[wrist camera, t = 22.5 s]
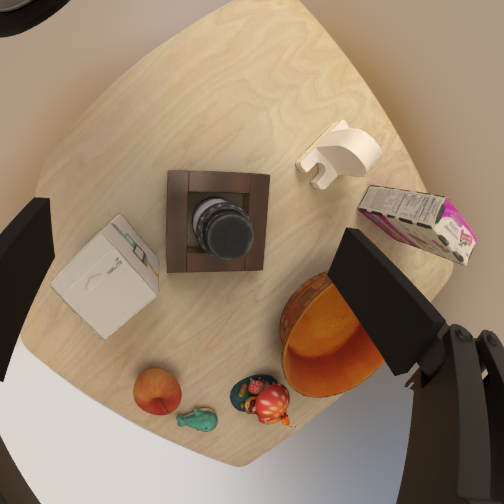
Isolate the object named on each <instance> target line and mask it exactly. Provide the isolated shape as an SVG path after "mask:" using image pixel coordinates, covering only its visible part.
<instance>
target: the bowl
mask: <svg viewBox="0 0 504 504" xmlns="http://www.w3.org/2000/svg"><path fill="white" fill-rule="evenodd" d="M328 272H329V271H327V272H323V273H321V274H319V275H317V276H315V277H313V278H311V279H310V280H308V281H307V282H305V283H304V284H303V285H302V286H301V287H300V288H299V289H298V290H297V291H296V292H295V293H294V294H293V295H292V296H291V298H290V299H289V301H288V303H287V304H286V306H285V308H284V311H283V313H282V316H281V321H280V336H281V340H282V343H283V351H282V368H283V373H284V376H285V379H286V380H287V382H288V383H289V385H290V386H291V387H292V388H293V389H294V390H295V391H296V392H298V393H300V394H302V395H304V396H308V397H329V396H333V395H337V394H340V393H343V392H345V391H348V390H350V389H352V388H354V387H356V386H358V385H359V384H360V383H362V382H363V381H364V380H366V379H367V378H368V377H369V376H371V375H372V374H373V373H374V372H375V371H376V370H377V369H378V368H379V367H380V366H381V364H383V362H384V361H385V360H384V358H383V357H382V355H381V354H380V352H379V351H378V349H377V348H376V346H375V345H374V343H373V342H372V340H371V339H370V337H369V335H368V334H367V332H366V331H365V329H364V328H363V326H362V325H361V323H360V322H359V320H358V319H357V318H356V316H355V315H354V313H353V312H352V310H351V309H350V307H349V306H348V304H347V303H346V301H345V300H344V298H343V297H342V296H341V294H340V293H339V291H338V290H337V288H336V287H335V285H334V284H333V283H332V281H331V280H330V278H329V277H328V276H327V274H328Z"/></svg>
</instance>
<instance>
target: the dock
mask: <svg viewBox="0 0 504 504" xmlns="http://www.w3.org/2000/svg"><path fill="white" fill-rule="evenodd" d="M269 183H270V175H267V174H254V173H237V172H215V171H178V170H168V183H167V273H178V272H222V271H244V270H245V271H258V270H263V262H264V249H265V236H266V223H267V210H268V197H269ZM188 192H220V193H244V195H243V210H245V211H246V213H247V214H248V215H249V218H250V219H251V222H252V228H253V231H254V242H253V245H252V247H251V249H250V250H249V252H248V253H247V254H246V255H245V256H243V257H242V258H240V259H237V260H233V261H226V260H222V259H219V258H215V257H213V256H211V255H209V254H208V253H206V252H205V251H204V250H203V249H202V248H201V247H187V211H188Z"/></svg>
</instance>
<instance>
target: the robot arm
mask: <svg viewBox="0 0 504 504" xmlns="http://www.w3.org/2000/svg"><path fill="white" fill-rule="evenodd" d="M36 1H37V0H0V13H11V12H15V11H18V10H21V9H23V8H25V7H27V6H29V5H31V4H32V3H34V2H36ZM54 258H55V253H54V245H53V236H52V225H51V213H50V198H36V197H34V198H33V199H32V200H31V201H30V202H29V203H28V204H27V205H26V206H25V207H24V208H23V209H22V210H21V212H20V213H19V214H18V215H17V216H16V217H15V218H14V219H13V220H12V221H11V222H10V224H9V225H8V226H7V227H6V228H5V229H4V230H3V232H2V233H1V234H0V381H1V382H3V381H4V378H5V374H6V371H7V368H8V365H9V362H10V359H11V356H12V353H13V350H14V347H15V345H16V342H17V339H18V337H19V334H20V331H21V329H22V326H23V324H24V321H25V319H26V317H27V314H28V312H29V310H30V307H31V305H32V303H33V301H34V298H35V296H36V294H37V292H38V290H39V288H40V285H41V283H42V281H43V279H44V277H45V275H46V273H47V271H48V269H49V267H50V266H51V264H52V262H53V260H54ZM327 276H328V277H329V278H330V280H331V281H332V283H333V284H334V285H335V287H336V288H337V290H338V291H339V293H340V294H341V296H342V297H343V298H344V300H345V301H346V303H347V304H348V306H349V307H350V309H351V310H352V312H353V313H354V315H355V316H356V318H357V319H358V320H359V322H360V323H361V325H362V326H363V328H364V329H365V331H366V332H367V334H368V335H369V337H370V339H371V340H372V342H373V343H374V345H375V346H376V348H377V349H378V351H379V352H380V354H381V355H382V357H383V358H384V360H385V362H386V363H387V365H388V366H389V368H390V369H391V371H392V372H393V374H394V375H395V376H397V375H400V374H404V373H408V371H409V370H410V369H411V368H412V366H413V365H414V364H415V363H416V362H417V363H418V365H419V366H420V367H419V368H418V370H417V371H416V372H415V373H414V374H413V375H412V377H411V378H410V379H409V380H408V381H407V382H406V384H405V387H408V386H409V384H410V383H411V382H414V384H413V385H412V386H411V388H410V389H412V390H414V396H413V408H412V418H411V427H410V435H409V442H408V448H407V455H406V460H405V466H404V471H403V476H402V481H401V486H400V490H399V494H398V498H397V503H396V504H504V347H503V345H502V343H501V342H500V340H499V339H498V337H497V336H496V334H495V333H493V332H492V331H488V330H483V331H482V332H481V334H480V335H479V336H478V338H477V339H476V338H473V336H472V335H471V334H470V333H469V332H468V331H467V330H466V329H465V328H464V327H462V326H460V325H457V324H452V325H451V326H450V327H449V326H448V325H447V323H446V320H445V319H444V318H443V317H442V316H441V314H440V313H439V312H438V311H437V310H436V309H435V308H434V307H433V305H432V304H431V303H430V302H429V301H428V300H427V299H426V298H425V296H424V295H423V294H422V293H421V292H420V291H419V290H418V289H417V288H416V287H415V286H414V285H413V283H412V282H411V281H410V280H409V279H408V278H407V277H406V276H405V275H404V274H403V273H402V272H401V271H400V270H399V269H398V268H397V267H396V266H395V265H394V264H393V263H392V262H391V261H390V260H389V259H388V258H387V257H386V256H385V255H384V254H383V253H382V252H381V251H380V250H379V249H378V248H377V247H376V246H375V245H374V244H373V243H372V242H371V241H370V240H369V239H368V238H367V237H366V236H365V235H364V234H363V233H362V232H361V231H360V230H359V229H353V228H347V227H346V229H345V232H344V235H343V237H342V240H341V242H340V245H339V247H338V250H337V252H336V255H335V257H334V260H333V262H332V264H331V267H330V269H329V272H328V274H327ZM485 369H487V372H488V375H487V376H486V377H485V378H484V379H483V380H482V375H481V374H482V373H483V371H484V370H485ZM0 504H41V503H40V502H39V500H38V499H37V498H36V496H35V495H34V493H33V492H32V490H31V489H30V487H29V486H28V484H27V483H26V481H25V479H24V478H23V476H22V475H21V473H20V471H19V470H18V468H17V466H16V465H15V463H14V461H13V459H12V457H11V455H10V454H9V452H8V450H7V448H6V446H5V444H4V442H3V440H2V438H1V436H0Z"/></svg>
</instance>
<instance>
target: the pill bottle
mask: <svg viewBox="0 0 504 504" xmlns="http://www.w3.org/2000/svg"><path fill="white" fill-rule="evenodd" d="M192 226H193V230H194V233H195V235H196V237H197V240H198V242H199V244H200V246H201V248H202V249H203V250H204V251H205V252H206V253H208V254H209V255H211V256H213V257H215V258H219V259H222V260H226V261H233V260H237V259H240V258H242V257H243V256H245V255H246V254H247V253H248V252H249V250H250V249H251V247H252V245H253V242H254V231H253V228H252V222H251V219H250V218H249V215H248V214H247V213H246V211H245V210H243V209H242V208H241V207H239V206H238V205H235V204H234V203H232V202H230V201H228V200H226V199H224V198H220V197H210V198H207V199H205V200H203V201H201V202H200V203H199V204H198V205H197V206H196V208H195V210H194V212H193V214H192Z"/></svg>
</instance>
